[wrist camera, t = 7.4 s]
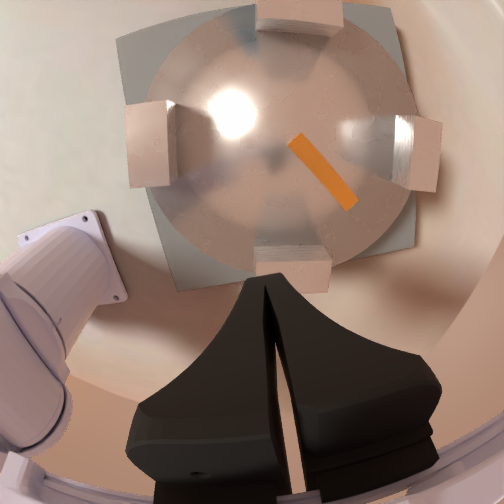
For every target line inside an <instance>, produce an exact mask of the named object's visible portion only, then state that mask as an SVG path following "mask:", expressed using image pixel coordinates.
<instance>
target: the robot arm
mask: <svg viewBox="0 0 504 504" xmlns="http://www.w3.org/2000/svg"><path fill="white" fill-rule="evenodd" d="M84 216H86V217H87V218H88V221H87V220H85V217H84ZM27 236H28V237H27ZM28 238H29V239H28ZM17 242H18V245H19V248H18V249H17V250H16V251H14V252H13V253H12V254H11V255H9V256H8V257H7V258H6V259H4V260H3V261H2V262H1V263H0V473H1V475H0V504H366V503H369V502H372V501H375V500H378V499H381V498H384V497H387V496H389V495H392V494H395V493H398V492H400V491H403V490H405V489H408V488H409V489H408V491H407V494H406V495H405V496H404V497H400V498H397V499H394V500H391V501H388V502H385V503H381V504H496V503H497V502H499V501H500V500H501V499H502V498H504V411H503V412H501V413H500V414H499V415H497V416H495V417H494V418H492V419H491V420H489V421H488V422H486V423H484V424H483V425H482V426H480V427H478V428H476V429H475V430H473V431H471V432H470V433H468V434H466V435H464V436H463V437H461V438H459V439H457V440H455V441H453V442H451V443H449V444H448V445H446V446H444V447H442V448H440V449H438V450H436V448H435V446H434V444H433V442H432V440H431V437H430V436H431V435H432V434H433V430H432V428H431V425H430V424H429V419H430V417H431V416H432V414H433V412H434V410H435V408H436V406H437V404H438V402H439V399H440V397H441V394H442V387H441V384H440V383H439V381H438V379H437V378H436V376H435V374H434V373H433V372H432V370H431V368H430V367H429V366H428V365H427V363H426V362H425V361H424V360H423V359H422V357H421V356H420V355H416V354H412V353H408V352H404V351H401V350H397V349H393V348H390V347H387V346H384V345H381V344H379V343H376V342H373V341H371V340H368V339H366V338H364V337H362V336H360V335H358V334H356V333H354V332H352V331H350V330H348V329H346V328H344V327H342V326H340V325H339V324H337V323H336V322H334V321H333V320H331V319H330V318H328V317H327V316H325V315H324V314H323V313H321V312H320V311H319V310H318V309H316V308H315V307H314V306H313V305H312V304H310V303H309V302H308V301H307V300H306V299H305V298H304V297H303V296H302V295H301V294H300V293H299V292H298V291H297V290H296V289H295V288H294V287H293V286H292V285H291V284H290V283H289V281H288V280H287V279H286V278H285V276H284V275H283V274H282V273H280V272H279V273H273V274H268V275H262V276H257V277H251V278H247V279H246V280H245V281H244V285H243V287H242V290H241V293H240V295H239V297H238V299H237V301H236V303H235V305H234V307H233V309H232V311H231V313H230V315H229V316H228V318H227V320H226V321H225V323H224V325H223V326H222V328H221V329H220V331H219V332H218V334H217V335H216V336H215V338H214V339H213V340H212V342H211V343H210V344H209V346H208V347H207V348H206V349H205V350H204V351H203V352H202V354H201V355H200V356H199V357H198V358H197V359H196V360H195V361H194V362H193V363H192V364H191V365H190V366H189V367H188V368H187V369H186V370H185V371H183V372H182V373H181V374H180V375H179V376H178V377H176V378H175V379H174V380H173V381H171V382H170V383H169V384H168V385H166V386H165V387H164V388H162V389H161V390H159V391H158V392H156V393H155V394H153V395H152V396H150V397H149V398H147V399H146V400H144V401H142V402H141V403H139V404H138V407H137V409H136V412H135V415H134V417H133V421H132V424H131V428H130V432H129V437H128V441H127V445H126V450H125V451H126V454H127V457H128V458H129V459H130V460H131V461H132V463H133V464H134V465H135V466H137V467H138V468H139V469H140V470H142V471H143V472H144V473H145V474H147V475H148V476H149V477H151V478H152V479H153V480H155V481H156V483H155V491H154V497H153V496H145V495H138V494H132V493H126V492H120V491H115V490H110V489H106V488H101V487H97V486H93V485H89V484H85V483H81V482H78V481H75V480H71V479H68V478H65V477H62V476H58V475H56V474H53V473H50V472H47V471H45V469H44V468H42V467H41V466H40V465H38V464H37V463H36V462H34V461H32V460H31V459H30V458H32V457H34V456H36V455H39V454H41V453H44V452H45V451H47V450H49V449H50V448H52V447H53V446H54V445H55V444H56V443H57V442H58V441H59V440H60V439H61V438H62V436H63V435H64V433H65V431H66V429H67V427H68V424H69V421H70V418H71V414H72V408H73V401H72V396H71V394H70V392H69V390H68V388H67V387H66V386H65V385H64V384H65V381H66V379H67V377H68V375H69V373H70V370H69V368H68V367H67V365H66V363H65V360H66V358H67V356H68V354H69V352H70V350H71V349H72V347H73V345H74V343H75V342H76V340H77V338H78V336H79V335H80V333H81V331H82V330H83V328H84V326H85V324H86V323H87V321H88V320H89V318H90V316H91V315H92V313H93V311H94V310H95V308H96V307H97V306H98V305H105V304H112V303H119V302H125V301H126V300H127V298H128V295H127V292H126V290H125V287H124V285H123V283H122V280H121V278H120V275H119V273H118V270H117V268H116V265H115V263H114V260H113V258H112V255H111V252H110V250H109V247H108V244H107V241H106V239H105V236H104V233H103V230H102V227H101V224H100V221H99V218H98V215H97V213H96V212H95V211H94V210H88V211H85V212H82V213H79V214H76V215H73V216H69V217H66V218H63V219H61V220H58V221H55V222H52V223H49V224H46V225H43V226H40V227H38V228H35V229H32V230H30V231H27V232H24V233H22V234H20V235H18V236H17ZM115 295H116V296H118V297H119V298H117V297H116V296H115ZM275 343H276V346H277V350H278V353H279V357H280V360H281V364H282V367H283V371H284V374H285V378H286V381H287V385H288V388H289V392H290V397H291V402H292V408H293V414H294V420H295V425H296V431H297V437H298V443H299V449H300V455H301V462H302V468H303V474H304V480H305V487H306V492H303V493H297V494H292V488H291V483H290V475H289V469H288V463H287V456H286V449H285V443H284V437H283V429H282V422H281V415H280V409H279V402H278V392H277V370H276V349H275ZM410 487H411V488H410Z"/></svg>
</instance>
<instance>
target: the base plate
mask: <svg viewBox="0 0 504 504" xmlns="http://www.w3.org/2000/svg"><path fill="white" fill-rule="evenodd" d="M246 6H249V5H246ZM240 7H244V6H238V7H231V8H225V9H219V10H214V11H209V12H204V13H199V14H194V15H190V16H186V17H182V18H178V19H174V20H171V21H167V22H164V23H160V24H157V25H154V26H151V27H147V28H144V29H141V30H139V31H136V32H133V33H130V34H127V35H125V36H122V37H120V38H117V39H116V45H117V52H118V59H119V66H120V72H121V78H122V84H123V90H124V95H125V101H126V105H132V104H139V103H145V99H146V96H147V93H148V90H149V87H150V85H151V83H152V81H153V79H154V77H155V75H156V73H157V71H158V69H159V68H160V66H161V65H162V63H163V62H164V60H165V59H166V57H167V56H168V55H169V53H170V52H171V51H172V50H173V49H174V48H175V47H176V46H177V45H178V44H179V43H180V42H181V40H182V39H183V38H185V37H186V36H187V35H188V34H190V33H191V32H192V31H193V30H195V29H196V28H197V27H199V26H200V25H202V24H204V23H205V22H207V21H209V20H211V19H212V18H214V17H216V16H218V15H221V14H223V13H226V12H228V11H231V10H233V9H236V8H240ZM342 9H343V18H345V19H347V20H349V21H350V22H352V23H354V24H355V25H357V26H358V27H360V28H361V29H363V30H364V31H366V32H367V33H368V34H369V35H370V36H372V37H373V38H374V39H375V40H376V41H377V42H379V43H380V45H381V46H382V47H383V48H384V49H385V50H386V51H387V52H388V53H389V54H390V56H391V57H392V58H393V60H394V61H395V62H396V64H397V65H398V67H399V68H400V70H401V71H402V73H403V75H404V77H405V79H406V81H407V78H406V72H405V67H404V62H403V57H402V52H401V48H400V43H399V39H398V35H397V31H396V27H395V23H394V20H393V16H392V13H391V10H390V8H386V7H380V6H372V5H364V4H354V3H342ZM145 188H146V192H147V196H148V199H149V203H150V206H151V210H152V213H153V217H154V220H155V224H156V227H157V230H158V234H159V237H160V240H161V243H162V246H163V250H164V253H165V256H166V259H167V262H168V265H169V268H170V271H171V274H172V277H173V280H174V283H175V285H176V288H177V291H178V292H181V291H187V290H193V289H199V288H205V287H211V286H217V285H222V284H228V283H234V282H240V281H245V280H246V279H247V278H251V277H254V273H251V272H247V271H243V270H240V269H236V268H234V267H231V266H229V265H226V264H224V263H221V262H219V261H217V260H215V259H214V258H212V257H210V256H208V255H207V254H205V253H203V252H202V251H201V250H199V249H198V248H196V247H195V246H194V245H192V244H191V243H190V242H189V241H188V240H186V239H185V238H184V237H183V236H182V235H181V234H180V233H179V232H178V231H177V230H176V229H175V228H174V226H173V225H172V224H171V223H170V221H169V220H168V219H167V217H166V216H165V215H164V213H163V212H162V210H161V208H160V207H159V205H158V203H157V202H156V200H155V198H154V196H153V194H152V191H151V189H150V187H145ZM415 221H416V190H411V192H410V195H409V197H408V199H407V201H406V203H405V205H404V207H403V208H402V210H401V212H400V214H399V215H398V216H397V218H396V219H395V220H394V222H393V223H392V224H391V226H390V227H389V228H388V229H387V230H386V231H385V232H384V233H383V234H382V235H381V236H380V238H379V239H377V240H376V241H375V242H374V243H373V244H371V245H370V246H369V247H368V248H366V249H365V250H364V251H362V252H361V253H359V254H357V255H356V256H354V257H353V258H351V259H349V260H347V261H350V260H354V259H359V258H364V257H369V256H374V255H378V254H383V253H388V252H392V251H397V250H401V249H406V248H410V247H414V240H415Z"/></svg>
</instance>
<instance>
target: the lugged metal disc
mask: <svg viewBox="0 0 504 504" xmlns="http://www.w3.org/2000/svg"><path fill="white" fill-rule="evenodd" d="M125 119H126V143H127V159H128V172H129V183H130V188H142V187H150V189H151V191H152V194H153V196H154V198H155V200H156V202H157V203H158V205H159V207H160V208H161V210H162V212H163V213H164V215H165V216H166V217H167V219H168V220H169V221H170V223H171V224H172V225H173V226H174V228H175V229H176V230H177V231H178V232H179V233H180V234H181V235H182V236H183V237H184V238H185V239H186V240H188V241H189V242H190V243H191V244H192V245H194V246H195V247H196V248H198V249H199V250H201V251H202V252H203V253H205V254H207V255H208V256H210V257H212V258H214V259H215V260H217V261H219V262H221V263H224V264H226V265H229V266H231V267H234V268H236V269H240V270H243V271H247V272H251V273H254V277H257V276H262V275H268V274H273V273H279V272H280V273H282V274H283V275H284V276H285V278H286V279H287V280H288V281H289V283H290V284H291V285H292V286H293V287H294V288H295V289H296V290H297V291H298V292H299V293H300V294H309V293H328V287H329V281H330V274H331V267H334V266H336V265H339V264H341V263H343V262H345V261H347V260H349V259H351V258H353V257H354V256H356V255H357V254H359V253H361V252H362V251H364V250H365V249H366V248H368V247H369V246H370V245H371V244H373V243H374V242H375V241H376V240H377V239H379V238H380V236H381V235H382V234H383V233H384V232H385V231H386V230H387V229H388V228H389V227H390V226H391V224H392V223H393V222H394V220H395V219H396V218H397V216H398V215H399V214H400V212H401V210H402V208H403V207H404V205H405V203H406V201H407V199H408V197H409V195H410V192H411V190H416V191H426V192H435V193H436V187H437V179H438V171H439V163H440V152H441V140H442V123H441V122H437V121H434V120H430V119H426V118H422V117H419V116H418V111H417V107H416V103H415V100H414V97H413V95H412V92H411V89H410V87H409V85H408V83H407V81H406V79H405V77H404V75H403V73H402V71H401V70H400V68H399V67H398V65H397V64H396V62H395V61H394V60H393V58H392V57H391V56H390V54H389V53H388V52H387V51H386V50H385V49H384V48H383V47H382V46H381V45H380V43H379V42H377V41H376V40H375V39H374V38H373V37H372V36H370V35H369V34H368V33H367V32H366V31H364V30H363V29H361V28H360V27H358V26H357V25H355V24H354V23H352V22H350V21H349V20H347V19H345V18H343V9H342V0H255V4H253V5H249V6H244V7H240V8H236V9H233V10H231V11H228V12H226V13H223V14H221V15H218V16H216V17H214V18H212V19H211V20H209V21H207V22H205V23H204V24H202V25H200V26H199V27H197V28H196V29H195V30H193V31H192V32H191V33H190V34H188V35H187V36H186V37H185V38H183V39H182V40H181V42H180V43H179V44H178V45H177V46H176V47H175V48H174V49H173V50H172V51H171V52H170V53H169V55H168V56H167V57H166V59H165V60H164V62H163V63H162V65H161V66H160V68H159V69H158V71H157V73H156V75H155V77H154V79H153V81H152V83H151V85H150V87H149V90H148V93H147V96H146V99H145V103H139V104H132V105H126V106H125Z"/></svg>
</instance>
